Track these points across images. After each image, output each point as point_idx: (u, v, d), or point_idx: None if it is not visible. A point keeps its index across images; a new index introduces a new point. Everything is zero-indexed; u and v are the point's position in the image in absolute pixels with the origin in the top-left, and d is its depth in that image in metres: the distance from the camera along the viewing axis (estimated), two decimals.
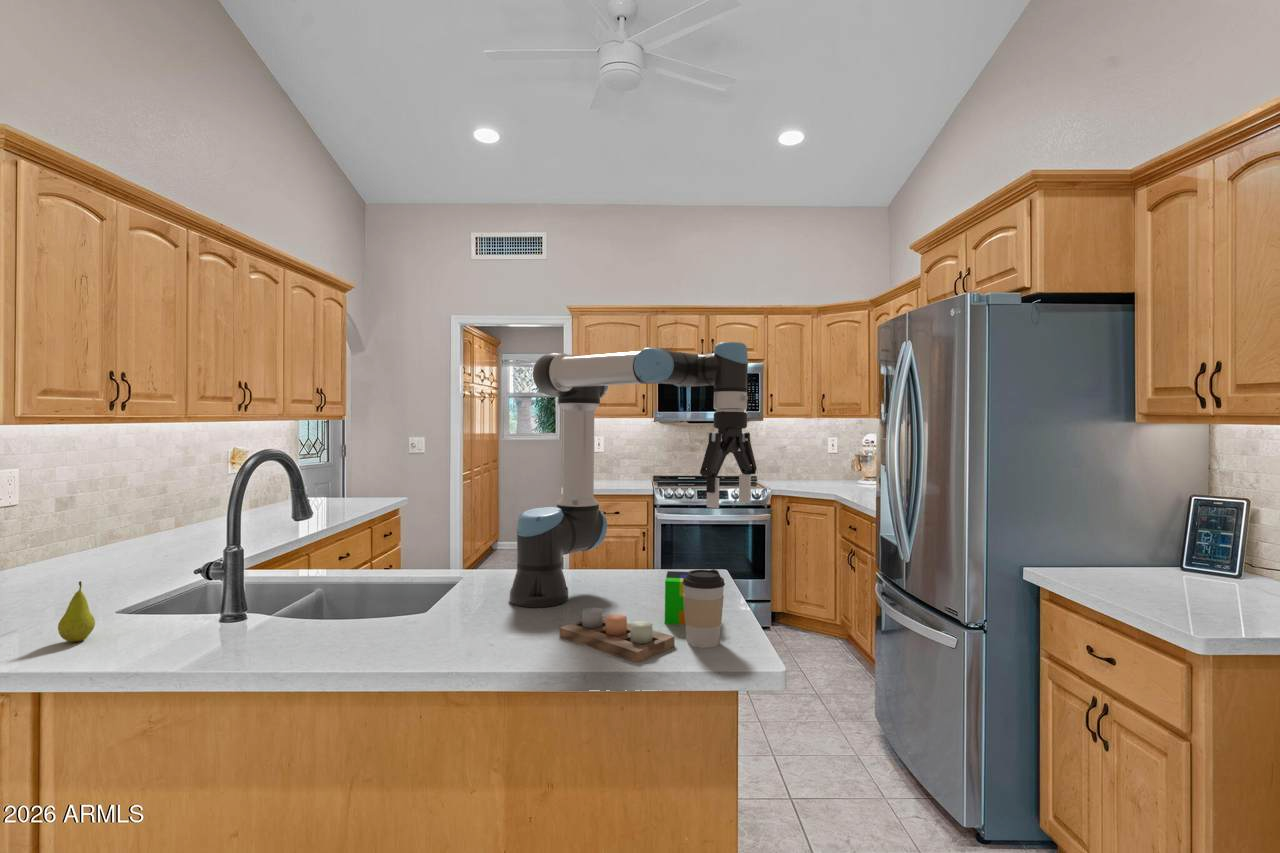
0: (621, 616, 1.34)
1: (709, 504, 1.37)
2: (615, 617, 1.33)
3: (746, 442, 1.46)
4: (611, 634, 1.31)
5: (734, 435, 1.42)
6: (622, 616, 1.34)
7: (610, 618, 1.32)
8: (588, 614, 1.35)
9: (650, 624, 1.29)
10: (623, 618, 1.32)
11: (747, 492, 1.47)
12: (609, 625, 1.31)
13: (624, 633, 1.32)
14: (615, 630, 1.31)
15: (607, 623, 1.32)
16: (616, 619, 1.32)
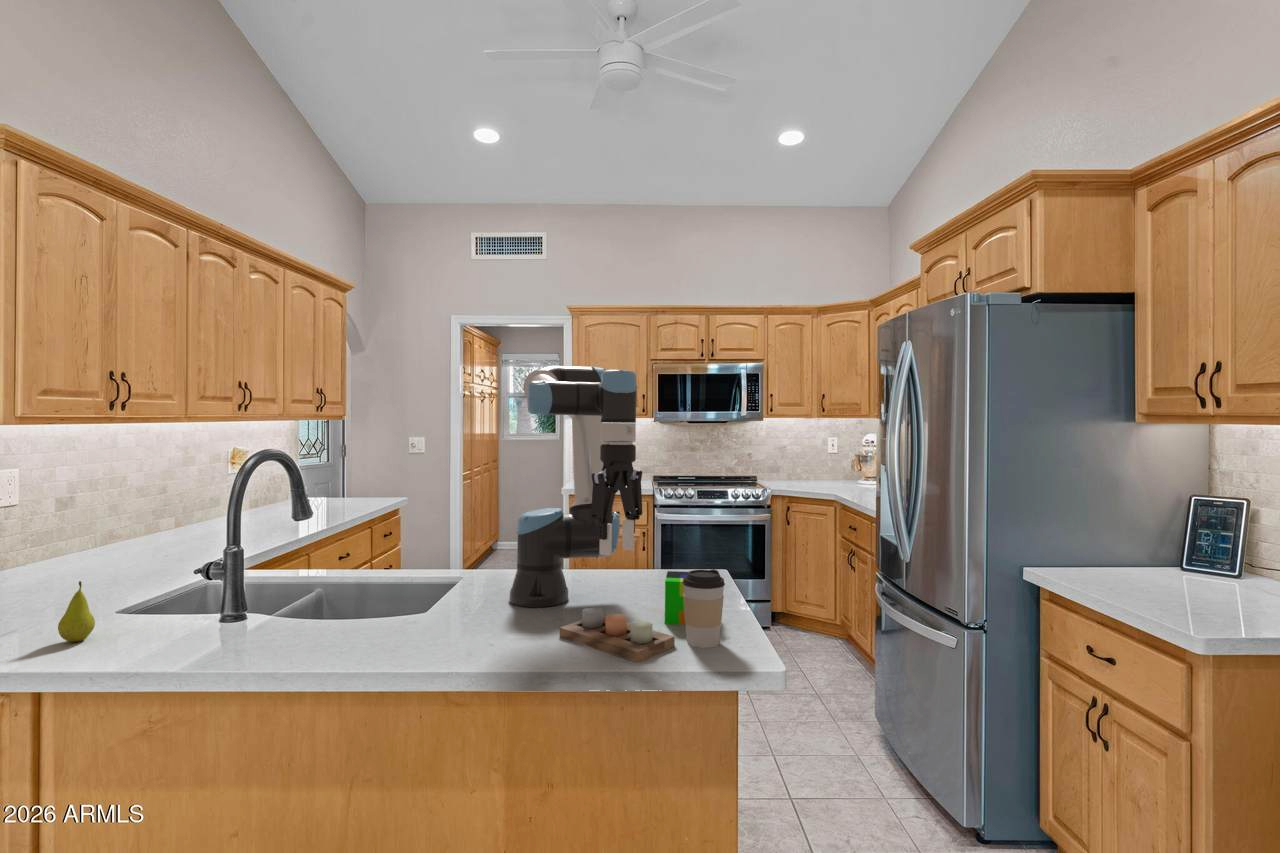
0: (621, 616, 1.34)
1: (602, 551, 1.30)
2: (615, 617, 1.33)
3: (636, 480, 1.36)
4: (611, 634, 1.31)
5: (621, 469, 1.32)
6: (622, 616, 1.34)
7: (610, 618, 1.32)
8: (588, 614, 1.35)
9: (650, 624, 1.29)
10: (623, 618, 1.32)
11: (630, 539, 1.35)
12: (609, 625, 1.31)
13: (624, 633, 1.32)
14: (615, 630, 1.31)
15: (607, 623, 1.32)
16: (616, 619, 1.32)
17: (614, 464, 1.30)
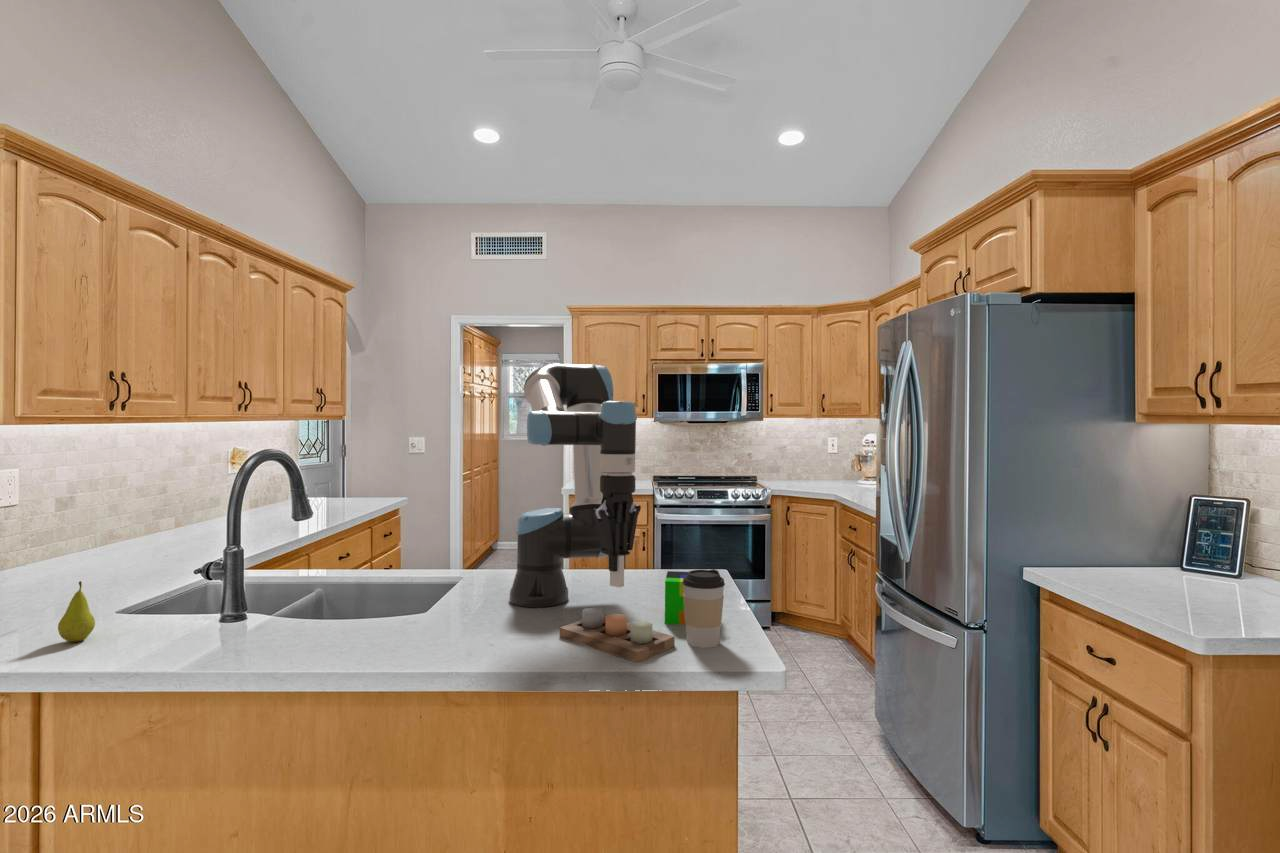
0: (621, 616, 1.34)
1: (612, 582, 1.32)
2: (615, 617, 1.33)
3: (633, 513, 1.36)
4: (611, 634, 1.31)
5: (621, 500, 1.32)
6: (622, 616, 1.34)
7: (610, 618, 1.32)
8: (588, 614, 1.35)
9: (650, 624, 1.29)
10: (623, 618, 1.32)
11: None
12: (609, 625, 1.31)
13: (624, 633, 1.32)
14: (615, 630, 1.31)
15: (607, 623, 1.32)
16: (616, 619, 1.32)
17: (612, 495, 1.30)
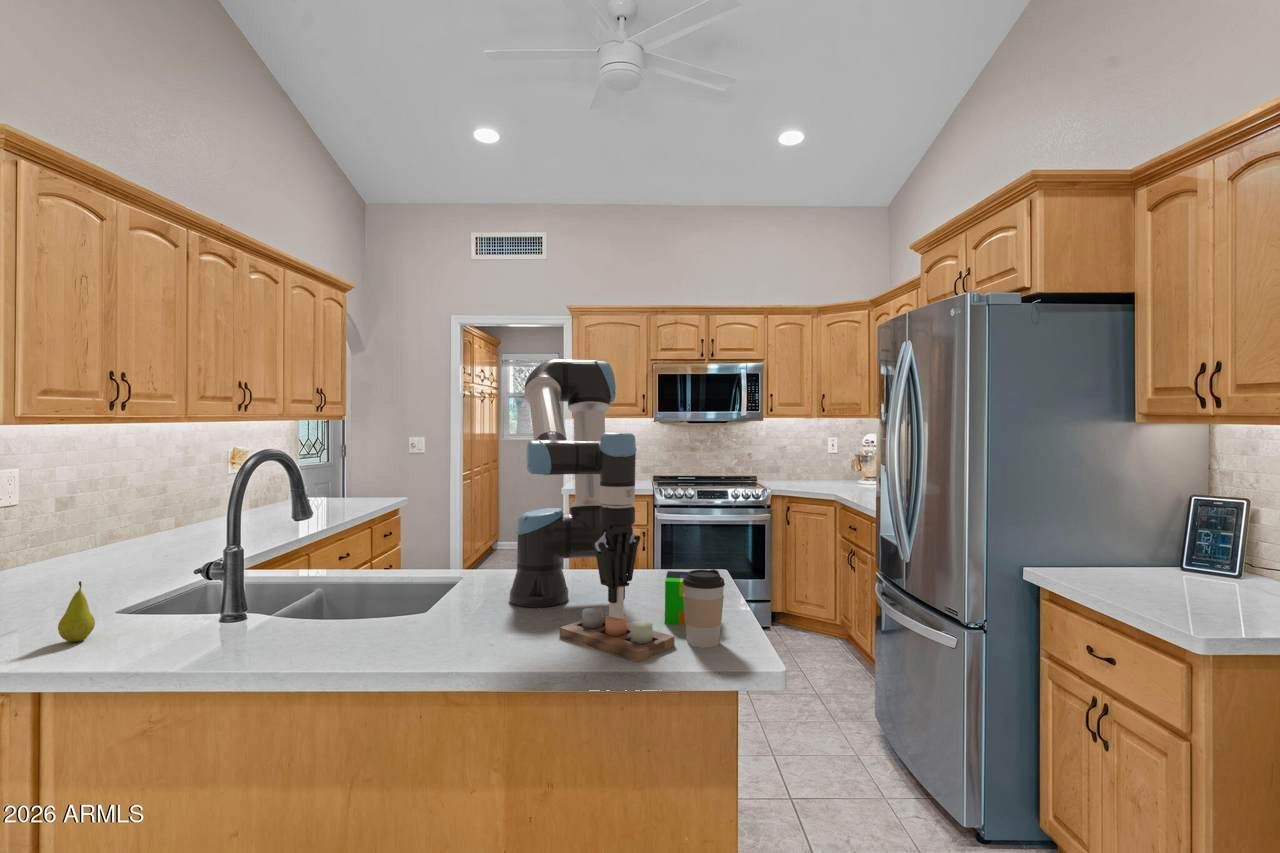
0: None
1: (611, 614, 1.33)
2: (615, 618, 1.33)
3: (633, 544, 1.36)
4: (611, 635, 1.31)
5: (621, 532, 1.32)
6: None
7: (610, 619, 1.32)
8: (588, 614, 1.35)
9: (650, 624, 1.29)
10: (623, 619, 1.32)
11: None
12: (609, 625, 1.31)
13: (624, 634, 1.32)
14: (615, 630, 1.31)
15: (607, 624, 1.32)
16: (616, 620, 1.32)
17: (612, 527, 1.30)
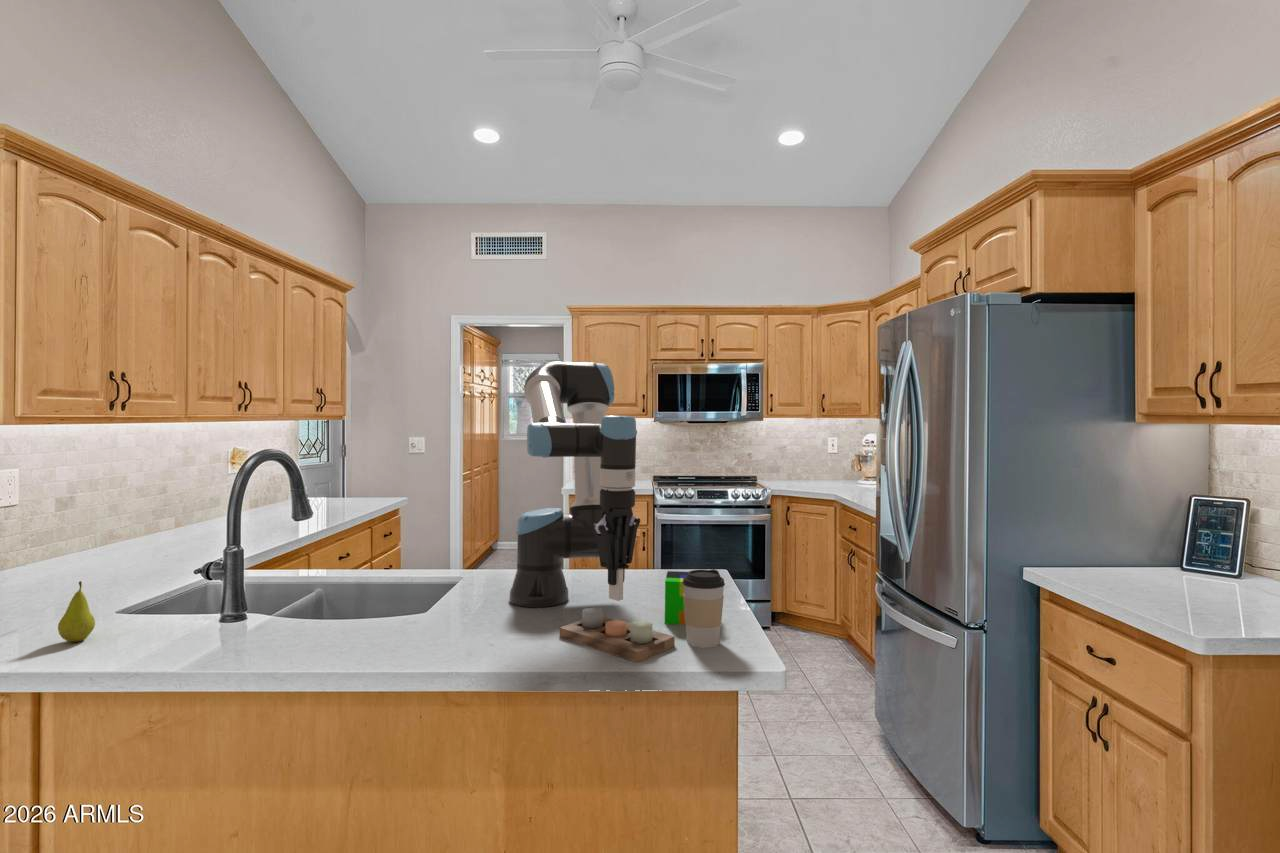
0: (621, 622, 1.34)
1: (611, 596, 1.33)
2: (615, 623, 1.33)
3: (633, 526, 1.36)
4: None
5: (621, 514, 1.32)
6: (622, 622, 1.34)
7: (610, 625, 1.32)
8: (588, 614, 1.35)
9: (650, 624, 1.29)
10: (623, 624, 1.32)
11: None
12: (609, 631, 1.31)
13: None
14: (614, 636, 1.31)
15: (607, 629, 1.32)
16: (616, 625, 1.32)
17: (612, 509, 1.30)
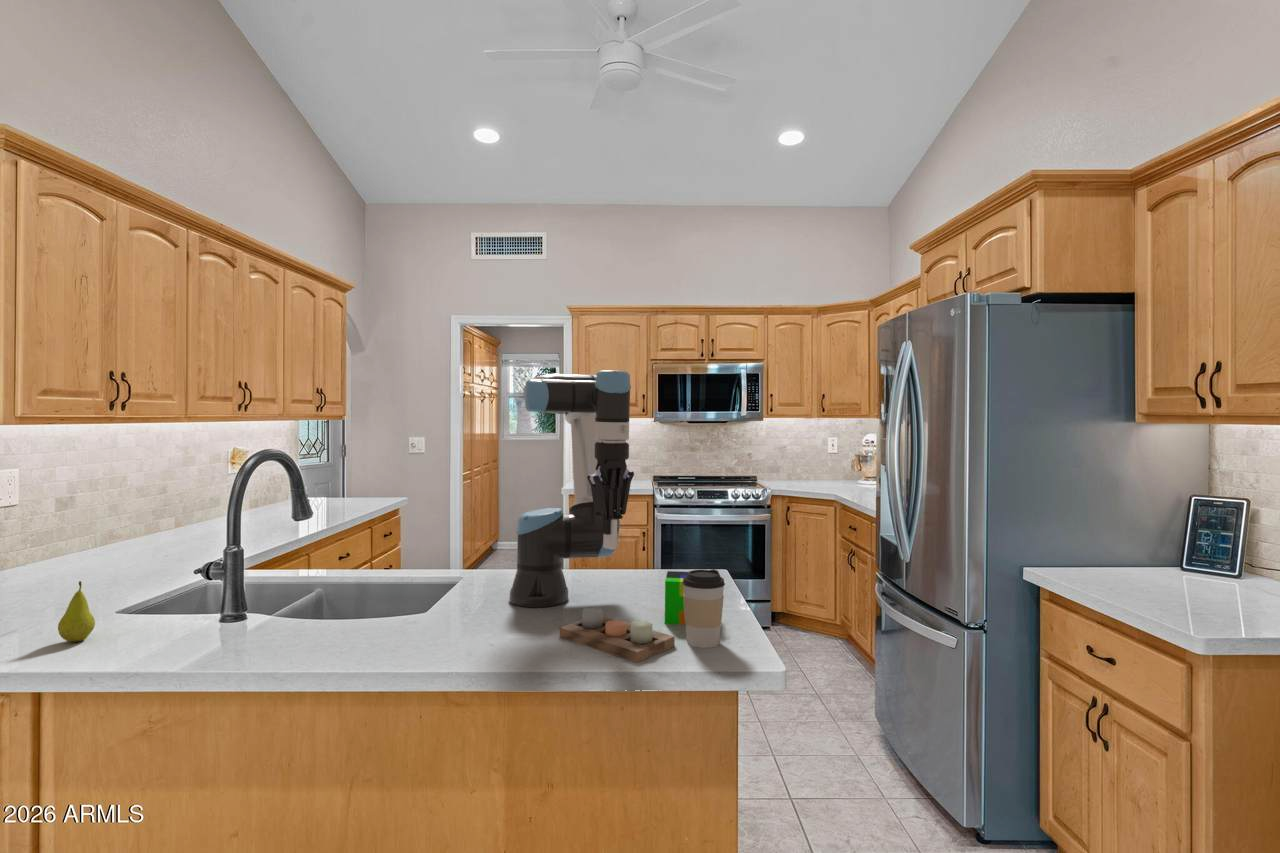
0: (621, 622, 1.34)
1: (605, 545, 1.38)
2: (615, 623, 1.33)
3: (626, 479, 1.40)
4: None
5: (615, 466, 1.37)
6: (622, 622, 1.34)
7: (610, 625, 1.32)
8: (588, 614, 1.35)
9: (650, 624, 1.29)
10: (623, 624, 1.32)
11: None
12: (609, 631, 1.31)
13: None
14: (614, 636, 1.31)
15: (607, 629, 1.32)
16: (616, 625, 1.32)
17: (606, 461, 1.35)
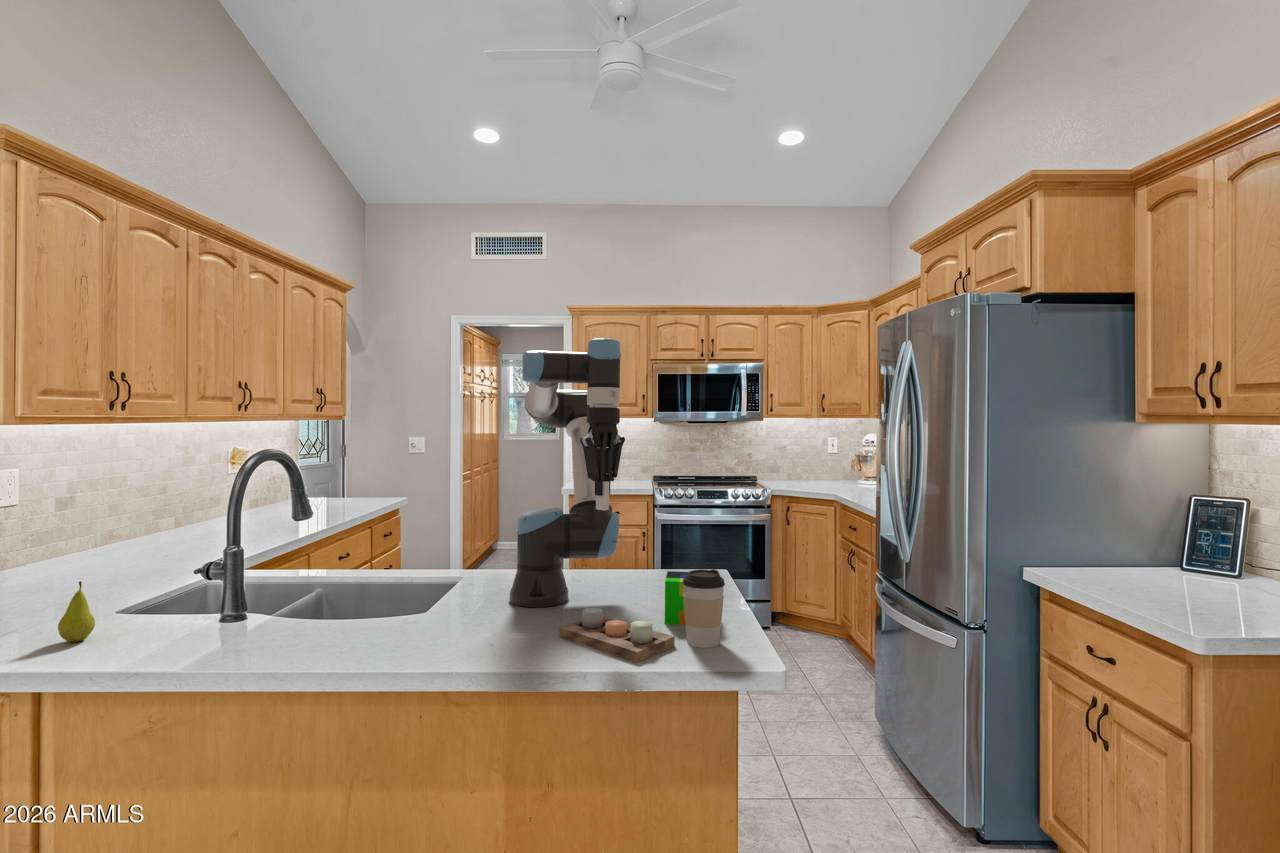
0: (621, 622, 1.34)
1: (598, 506, 1.44)
2: (615, 623, 1.33)
3: (618, 444, 1.47)
4: None
5: (606, 430, 1.43)
6: (622, 622, 1.34)
7: (610, 625, 1.32)
8: (588, 614, 1.35)
9: (650, 624, 1.29)
10: (623, 624, 1.32)
11: None
12: (609, 631, 1.31)
13: None
14: (614, 636, 1.31)
15: (607, 629, 1.32)
16: (616, 625, 1.32)
17: (598, 424, 1.41)
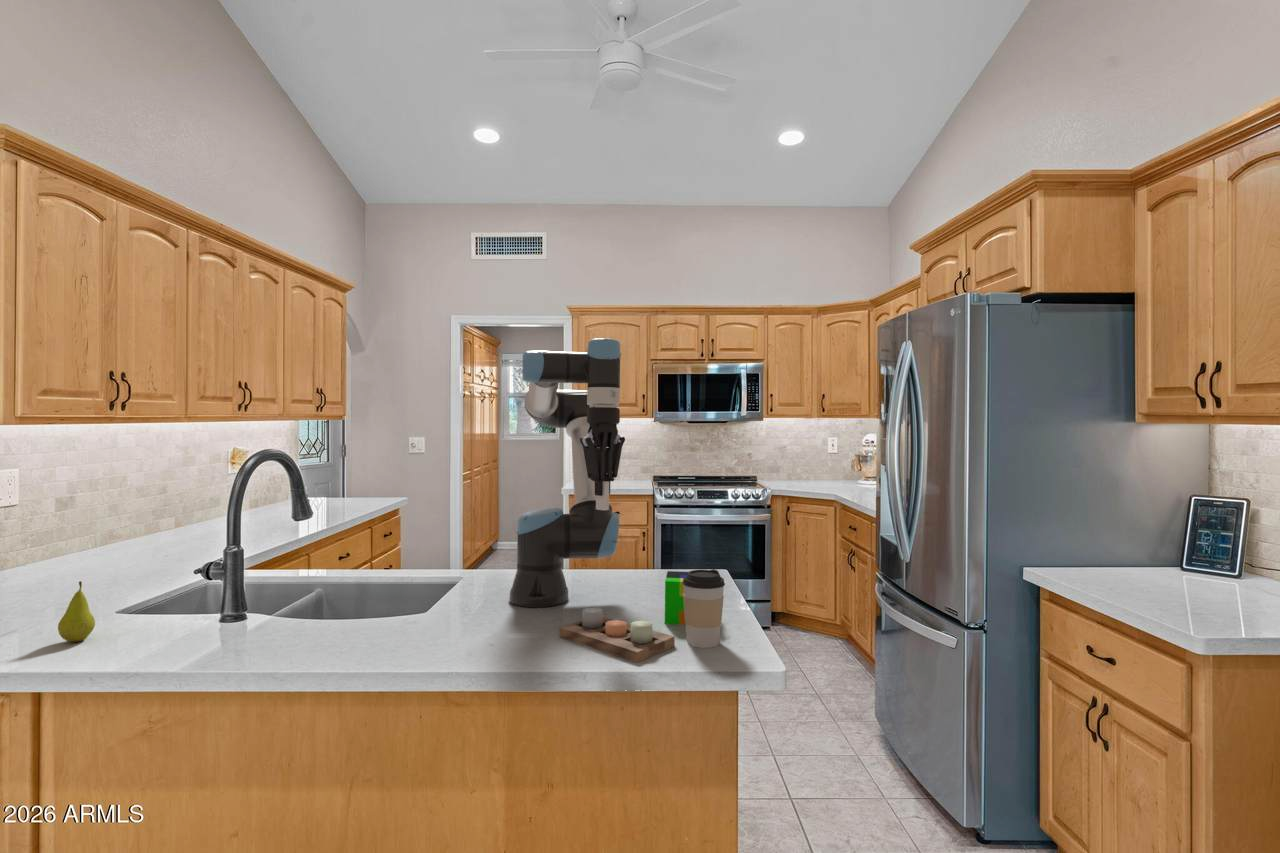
0: (621, 622, 1.34)
1: (598, 506, 1.44)
2: (615, 623, 1.33)
3: (618, 444, 1.47)
4: None
5: (606, 430, 1.43)
6: (622, 622, 1.34)
7: (610, 625, 1.32)
8: (588, 614, 1.35)
9: (650, 624, 1.29)
10: (623, 624, 1.32)
11: None
12: (609, 631, 1.31)
13: None
14: (614, 636, 1.31)
15: (607, 629, 1.32)
16: (616, 625, 1.32)
17: (598, 424, 1.41)
